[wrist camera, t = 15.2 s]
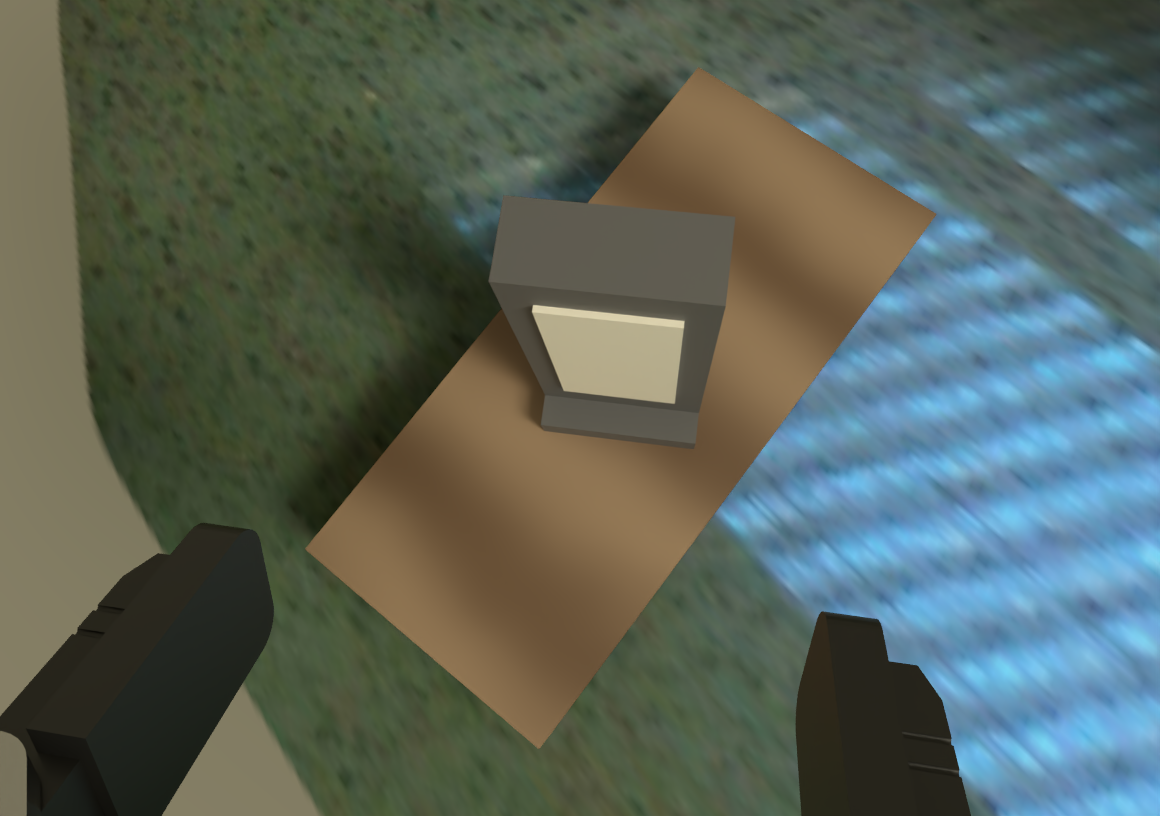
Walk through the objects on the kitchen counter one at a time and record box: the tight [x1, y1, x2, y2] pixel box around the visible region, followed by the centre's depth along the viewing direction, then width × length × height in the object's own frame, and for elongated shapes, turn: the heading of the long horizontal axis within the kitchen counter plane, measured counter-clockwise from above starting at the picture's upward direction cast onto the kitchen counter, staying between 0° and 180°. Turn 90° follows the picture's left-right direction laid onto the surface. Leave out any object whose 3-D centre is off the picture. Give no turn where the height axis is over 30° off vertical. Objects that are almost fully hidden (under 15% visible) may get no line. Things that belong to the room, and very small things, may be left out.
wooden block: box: [305, 67, 936, 749], centre depth 30 cm, size 22×10×3 cm, turn 142°
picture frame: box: [489, 195, 735, 449], centre depth 23 cm, size 4×5×11 cm
